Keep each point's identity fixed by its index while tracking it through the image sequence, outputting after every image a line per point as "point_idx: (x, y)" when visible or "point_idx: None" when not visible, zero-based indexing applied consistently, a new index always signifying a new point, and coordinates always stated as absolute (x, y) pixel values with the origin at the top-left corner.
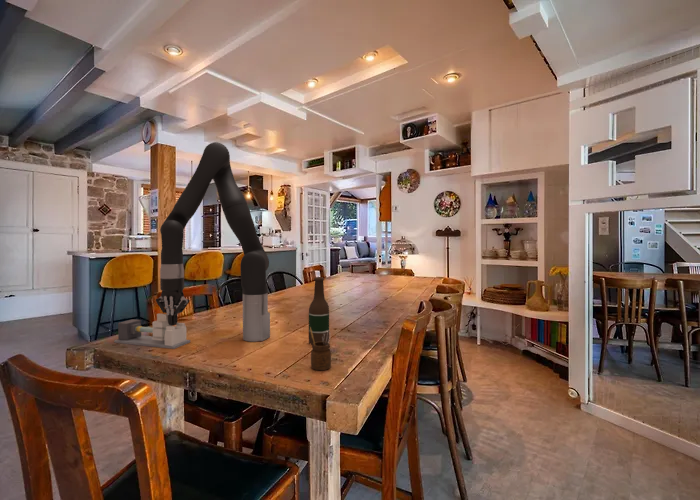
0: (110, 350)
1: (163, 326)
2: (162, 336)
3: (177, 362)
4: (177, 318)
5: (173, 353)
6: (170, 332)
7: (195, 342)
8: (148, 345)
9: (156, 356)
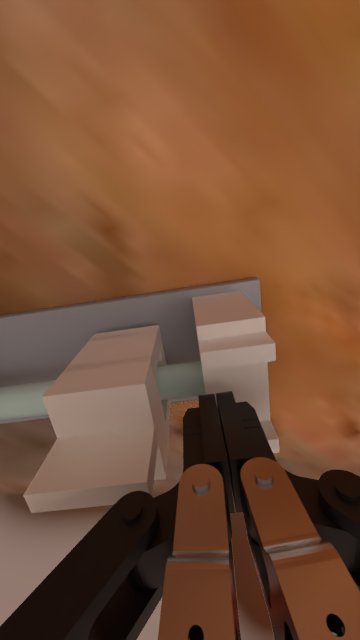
0: None
1: (166, 438)
2: (169, 401)
3: None
4: (262, 429)
5: (308, 420)
6: None
7: (286, 266)
8: None
9: None
